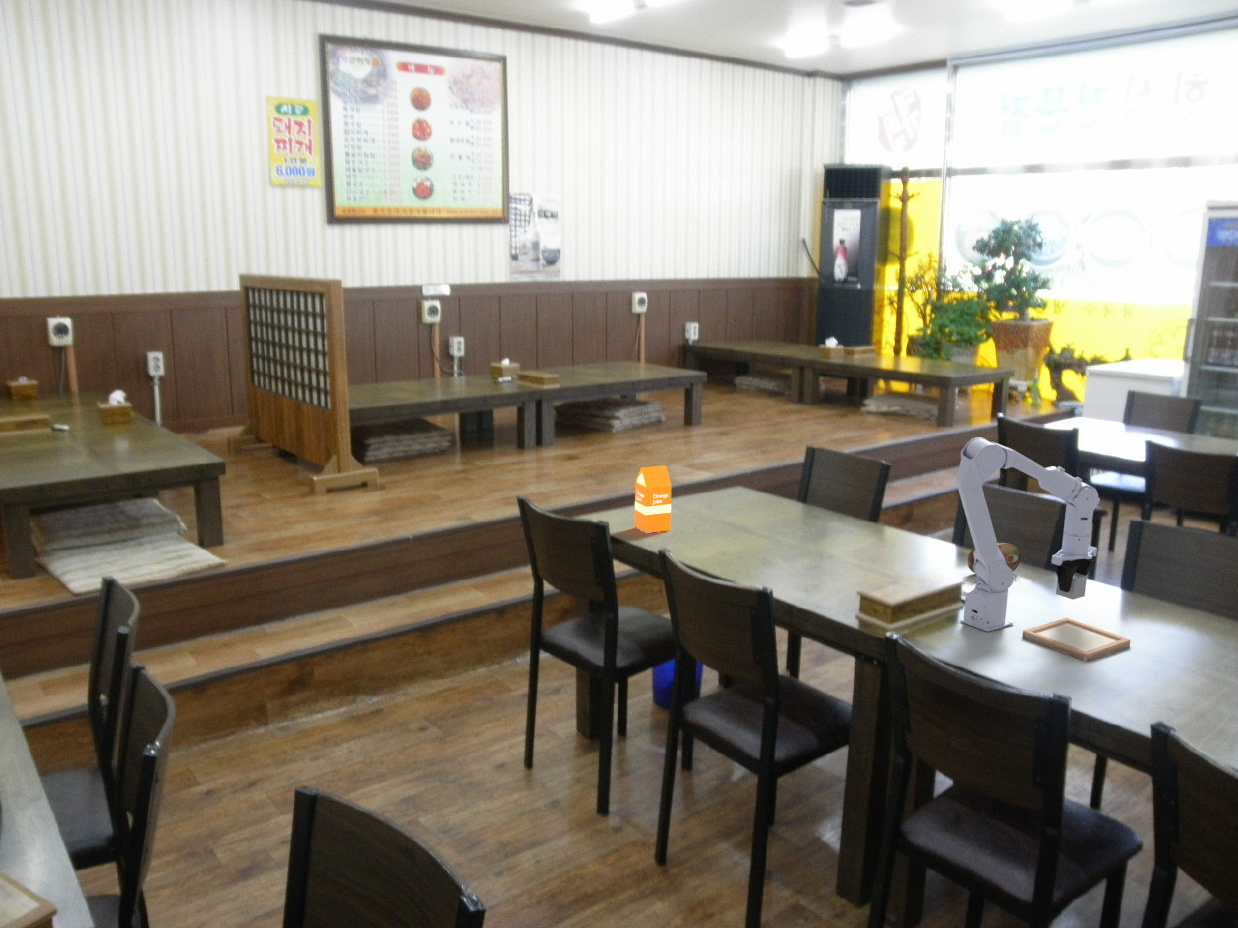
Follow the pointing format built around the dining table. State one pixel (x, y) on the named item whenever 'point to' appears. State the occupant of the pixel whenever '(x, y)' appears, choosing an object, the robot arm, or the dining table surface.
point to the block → (1074, 587)
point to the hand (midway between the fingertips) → (1070, 589)
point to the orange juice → (653, 499)
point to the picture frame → (1076, 639)
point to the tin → (1007, 551)
